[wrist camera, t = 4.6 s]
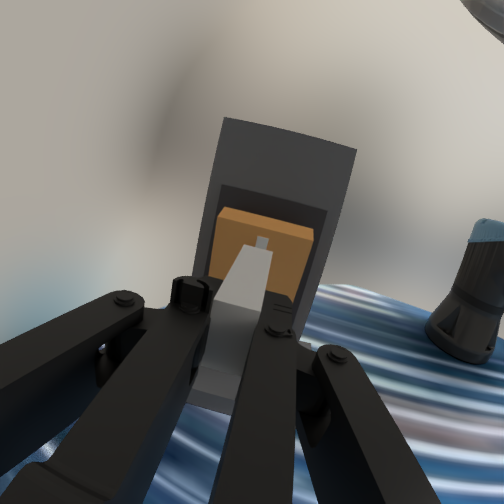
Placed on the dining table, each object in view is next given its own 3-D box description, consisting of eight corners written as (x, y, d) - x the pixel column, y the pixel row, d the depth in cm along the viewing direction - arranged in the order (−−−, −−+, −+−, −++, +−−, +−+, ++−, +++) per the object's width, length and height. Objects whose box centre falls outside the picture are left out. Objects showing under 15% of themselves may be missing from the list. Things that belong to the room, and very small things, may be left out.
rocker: (207, 318, 25) (224, 206, 20) (277, 336, 25) (313, 229, 20) (200, 333, 24) (216, 217, 19) (274, 353, 23) (313, 241, 19)
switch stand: (175, 322, 36) (212, 122, 29) (305, 356, 35) (368, 161, 28) (133, 384, 25) (166, 102, 18) (307, 431, 24) (413, 162, 17)
